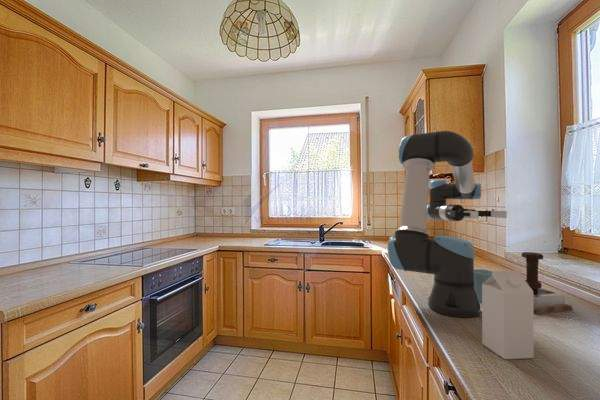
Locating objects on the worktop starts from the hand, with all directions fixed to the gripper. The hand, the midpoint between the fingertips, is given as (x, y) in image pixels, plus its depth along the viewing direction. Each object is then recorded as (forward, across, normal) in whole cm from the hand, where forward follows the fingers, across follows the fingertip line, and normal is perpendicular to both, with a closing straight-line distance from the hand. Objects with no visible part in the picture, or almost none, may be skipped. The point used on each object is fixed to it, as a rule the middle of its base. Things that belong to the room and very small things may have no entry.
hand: (492, 214), depth 116 cm
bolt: (+16, 0, -28) cm, 32 cm away
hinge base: (+16, 0, -30) cm, 34 cm away
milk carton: (+39, +37, -30) cm, 62 cm away
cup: (+9, +13, -30) cm, 34 cm away
